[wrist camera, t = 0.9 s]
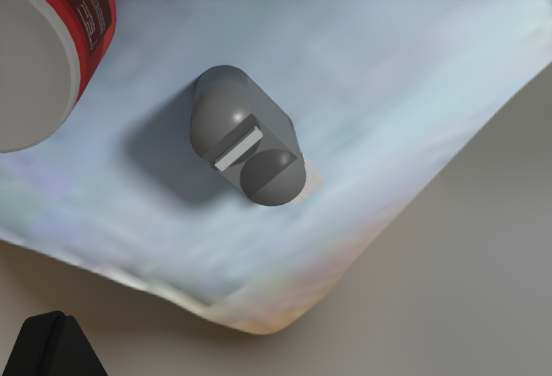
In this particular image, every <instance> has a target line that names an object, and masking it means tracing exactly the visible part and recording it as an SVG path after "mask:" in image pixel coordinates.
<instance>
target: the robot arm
mask: <svg viewBox="0 0 552 376" xmlns="http://www.w3.org/2000/svg"><path fill="white" fill-rule="evenodd" d="M2 376H108V375H107V373H106V371H105V369H104V368H103V366H102V364H101V362H100V361H99V359H98V357H97V356H96V354H95V352H94V350H93V349H92V347H91V345H90V343H89V342H88V340H87V338H86V336H85V335H84V333H83V331H82V329H81V328H80V326H79V324H78V323H77V321H76V319H75V318H74V317H73V316H71V315H70V316H65V314H64V313H63V312H61V311H53V312H49V313H45V314H41V315H37V316H33V317H29V318H27V319H26V320H25V322H24V323H23V325H22V328H21V330H20V333H19V335H18V337H17V340H16V343H15V345H14V347H13V350H12V352H11V355H10V357H9V360H8V362H7V365H6V367H5V370H4V372H3V374H2Z"/></svg>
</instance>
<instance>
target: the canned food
mask: <svg viewBox="0 0 552 376" xmlns="http://www.w3.org/2000/svg"><path fill="white" fill-rule="evenodd" d="M115 25H116V5H115V1H114V0H0V153H7V152H13V151H20V150H23V149H26V148H29V147H32V146H35V145H37V144H38V143H40V142H42V141H43V140H45V139H47V138H48V137H50V136H51V135H52V134H53V133H54V132H55V131H56V130H57V129H58V128H59V127H60V126H61V125H62V124H63V123H64V122H65V120H66V119H67V117H68V116H69V114H70V113H71V111H72V110H73V108H74V106H75V105H76V103H77V102H78V100H79V99H80V97H81V95H82V93H83V92H84V90H85V88H86V86H87V84H88V83H89V81H90V79H91V77H92V75H93V74H94V72H95V70H96V68H97V66H98V65H99V63H100V61H101V59H102V58H103V56H104V54H105V52H106V50H107V49H108V47H109V45H110V43H111V40H112V37H113V35H114V31H115Z"/></svg>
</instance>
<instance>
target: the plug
mask: <svg viewBox="0 0 552 376" xmlns="http://www.w3.org/2000/svg"><path fill="white" fill-rule="evenodd" d="M190 140H191V144H192V146H193V148H194V150H195V152H196V153H197V154H198V155H199V156H200V157H201V158H202V159H203V160H204V161H206V162H207V163H208V164H209V165H210V166H211V167H213V168H214V169H215V170H216V171H217V172H218V173H220V174H221V175H222V176H223V177H224V178H225V179H227V180H228V181H229V182H230V183H231V184H233V185H234V186H235V187H236V188H237V189H238V190H240V191H241V192H242V193H243V194H244V195H245V196H247V197H248V198H249V199H250V200H252V201H253V202H255V203H257V204H260V205H264V206H279V205H283V204H285V203H288V202H291V203H292V204H293V205H297V204H298V203H299V202H300V201H302V200H303V199H304V198H305V197H307V196H308V195H309V194H311V193H312V192H313V191H314V190H316V189H317V188H318V187H320V186H321V185H322V184H323V183H324V180H323V177H322V174H321V171H320V170H319V169H318V168H317V167H316V166H315V165H314V164H313V163H312V162H311V161H310V160H309V159H308V158H307V157H306V156H305V155H304V154H303V153H301V152H300V148H299V144H298V141H297V137H296V133H295V130H294V126H293V123H292V121H291V119H290V118H289V117H288V115H287V114H286V113H285V112H284V111H283V110H282V109H281V108H280V107H279V106H278V105H277V104H276V103H275V102H274V101H273V100H272V99H271V98H270V97H269V96H268V95H267V94H266V93H265V92H264V91H263V90H262V89H261V88H260V87H259V86H258V85H257V84H256V83H255V82H254V81H253V80H252V79H251V78H250V77H249V76H248V75H247V74H246V73H245V72H243V71H242V70H240V69H238V68H236V67H233V66H228V65H220V66H215V67H212V68H210V69H208V70H207V71H205V72H204V73H203V74H202V75H201V76H200V77H199V79H198V81H197V83H196V85H195V89H194V98H193V108H192V117H191V127H190Z"/></svg>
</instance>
